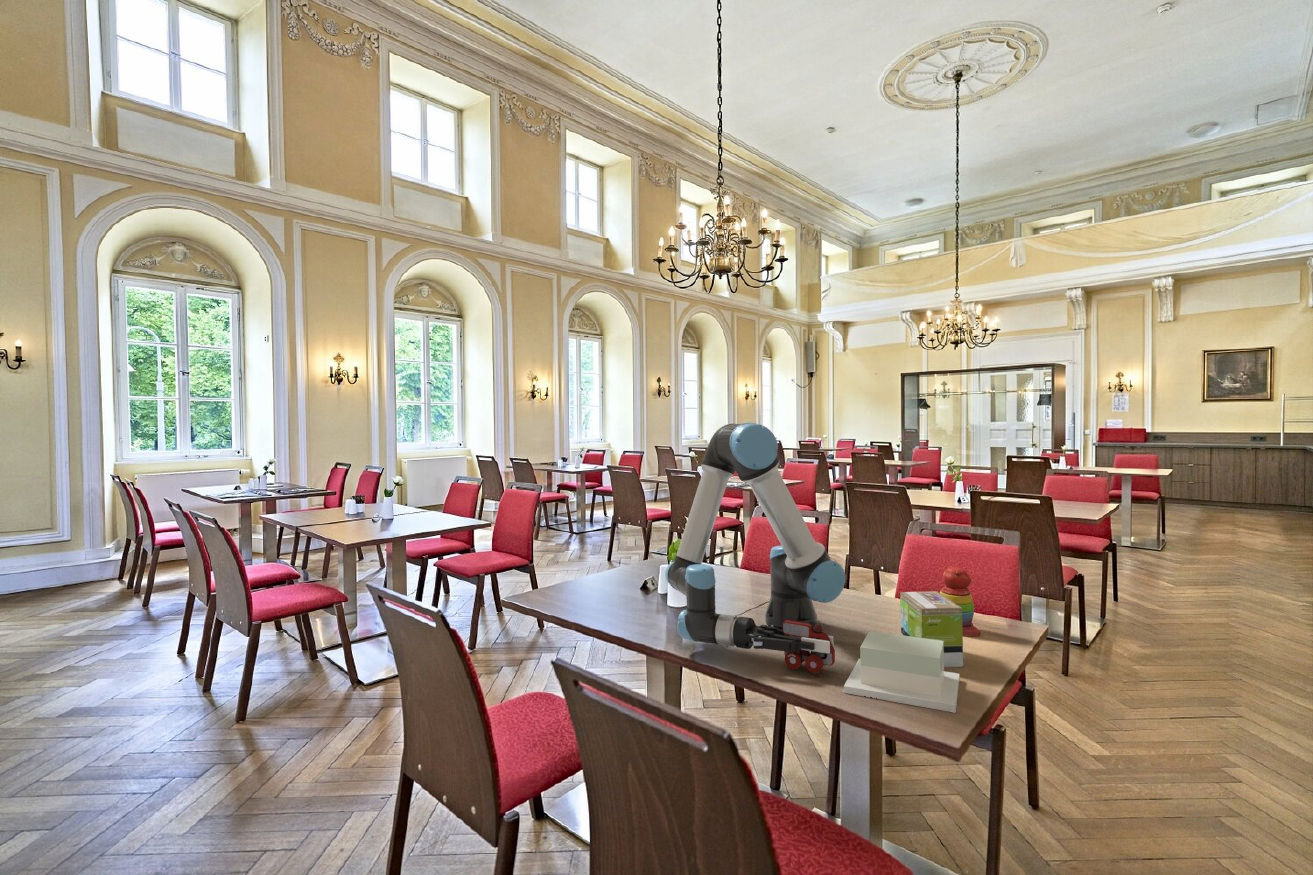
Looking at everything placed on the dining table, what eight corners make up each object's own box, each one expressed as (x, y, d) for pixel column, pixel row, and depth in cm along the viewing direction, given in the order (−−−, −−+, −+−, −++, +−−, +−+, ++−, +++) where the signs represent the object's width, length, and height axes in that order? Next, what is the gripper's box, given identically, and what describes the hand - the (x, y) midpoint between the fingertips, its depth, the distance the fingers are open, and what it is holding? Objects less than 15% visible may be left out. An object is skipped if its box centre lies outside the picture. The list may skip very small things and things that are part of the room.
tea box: (899, 646, 164) (898, 590, 164) (938, 646, 164) (937, 590, 163) (922, 668, 149) (921, 606, 149) (964, 668, 149) (964, 606, 148)
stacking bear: (982, 637, 170) (981, 572, 169) (942, 635, 172) (942, 571, 171) (971, 624, 180) (970, 563, 180) (933, 623, 182) (932, 562, 182)
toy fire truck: (829, 677, 142) (828, 631, 142) (778, 666, 149) (777, 623, 149) (838, 666, 148) (837, 623, 148) (788, 657, 155) (787, 615, 155)
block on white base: (844, 692, 136) (843, 649, 136) (859, 664, 152) (858, 625, 152) (955, 712, 126) (955, 665, 125) (959, 680, 141) (958, 638, 141)
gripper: (747, 636, 164) (838, 649, 153) (725, 657, 150) (823, 672, 139) (747, 608, 164) (838, 619, 153) (724, 626, 150) (822, 639, 139)
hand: (831, 644), depth 146 cm, fingers closed on toy fire truck, 3 cm apart
